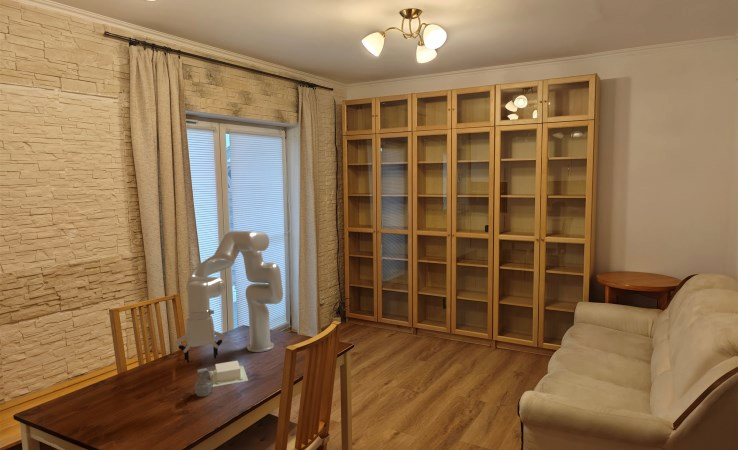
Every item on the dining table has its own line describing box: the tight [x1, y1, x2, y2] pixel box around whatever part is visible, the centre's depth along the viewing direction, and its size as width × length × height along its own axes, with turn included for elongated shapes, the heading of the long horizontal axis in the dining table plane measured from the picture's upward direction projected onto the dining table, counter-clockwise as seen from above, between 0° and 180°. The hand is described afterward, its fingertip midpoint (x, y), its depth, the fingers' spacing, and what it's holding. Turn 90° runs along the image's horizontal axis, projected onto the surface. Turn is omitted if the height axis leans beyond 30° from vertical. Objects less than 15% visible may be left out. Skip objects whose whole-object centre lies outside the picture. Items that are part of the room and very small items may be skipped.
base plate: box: [208, 365, 249, 388], centre depth 195 cm, size 16×14×2 cm
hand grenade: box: [194, 367, 213, 398], centre depth 179 cm, size 6×6×11 cm
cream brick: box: [214, 360, 241, 382], centre depth 195 cm, size 9×9×4 cm
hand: (201, 359), depth 178 cm, fingers open, 9 cm apart
